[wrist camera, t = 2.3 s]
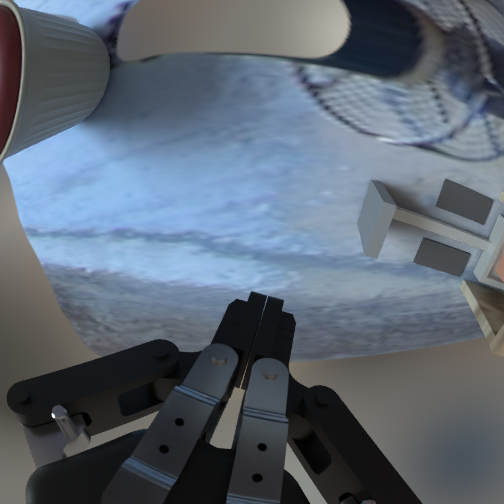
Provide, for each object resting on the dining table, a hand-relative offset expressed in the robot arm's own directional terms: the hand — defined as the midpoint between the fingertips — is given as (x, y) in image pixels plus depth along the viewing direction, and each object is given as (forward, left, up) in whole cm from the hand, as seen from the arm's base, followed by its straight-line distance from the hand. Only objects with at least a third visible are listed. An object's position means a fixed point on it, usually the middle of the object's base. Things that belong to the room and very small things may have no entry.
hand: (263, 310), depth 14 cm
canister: (-9, -30, -22) cm, 38 cm away
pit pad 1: (-4, +19, -22) cm, 29 cm away
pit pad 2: (+3, +19, -22) cm, 29 cm away
